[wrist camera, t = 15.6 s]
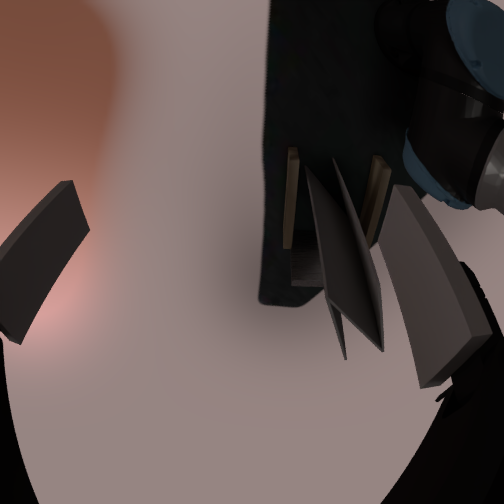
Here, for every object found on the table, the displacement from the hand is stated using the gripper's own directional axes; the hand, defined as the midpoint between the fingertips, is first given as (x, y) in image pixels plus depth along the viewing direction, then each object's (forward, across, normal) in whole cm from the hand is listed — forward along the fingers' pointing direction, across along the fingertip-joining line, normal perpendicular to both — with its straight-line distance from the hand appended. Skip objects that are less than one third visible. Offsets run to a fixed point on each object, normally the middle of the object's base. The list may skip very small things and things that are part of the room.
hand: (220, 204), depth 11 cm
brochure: (+39, +13, -21) cm, 46 cm away
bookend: (+39, +13, -31) cm, 51 cm away
